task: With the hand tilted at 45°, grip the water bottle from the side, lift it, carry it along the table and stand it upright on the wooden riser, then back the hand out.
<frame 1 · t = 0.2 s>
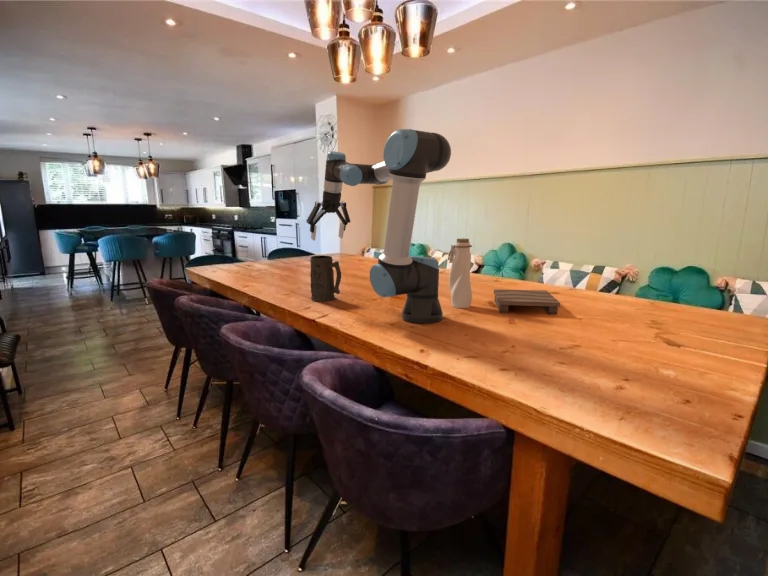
hand: (327, 238, 171), 28 cm above the table, tool tilted 20°, fingers open, 13 cm apart
wooden riser: (523, 307, 159), on the table
beer stein: (327, 299, 177), on the table
water bottle: (459, 306, 163), on the table
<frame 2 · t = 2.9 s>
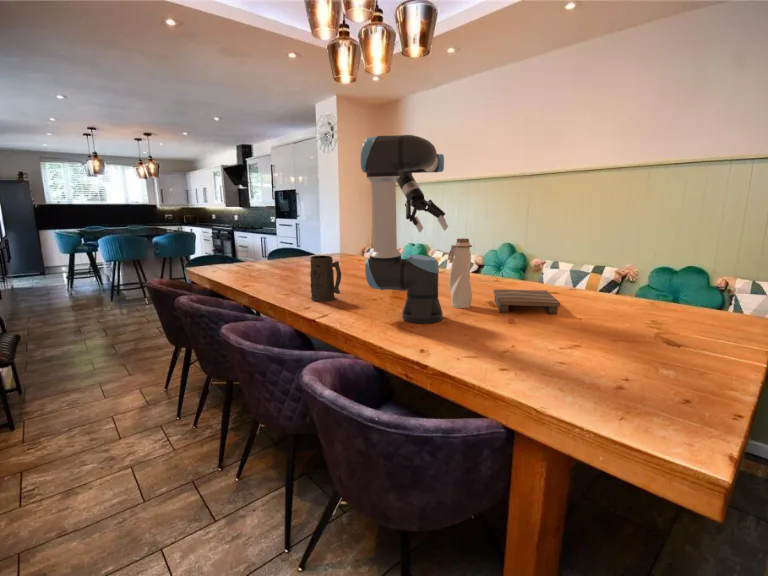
hand: (434, 229, 166), 31 cm above the table, tool tilted 45°, fingers open, 13 cm apart
nothing on the table moved.
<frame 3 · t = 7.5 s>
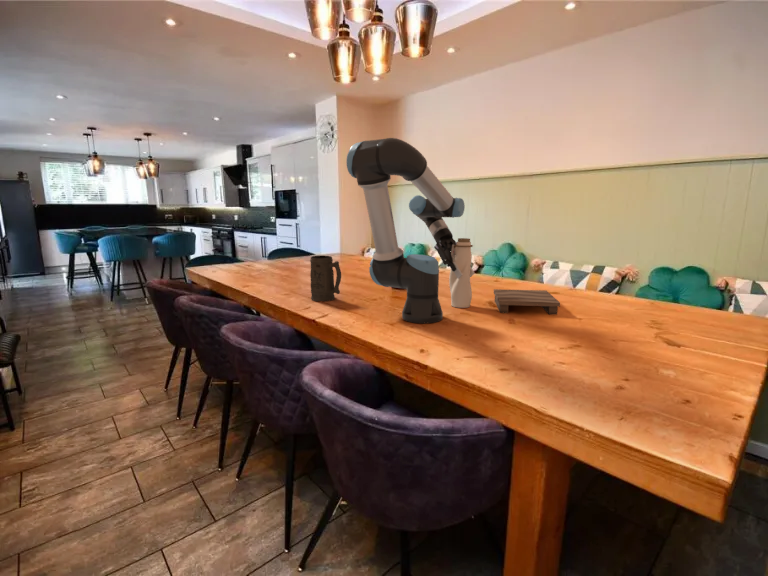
hand: (466, 275, 157), 13 cm above the table, tool tilted 45°, fingers closed on water bottle, 6 cm apart
water bottle: (458, 306, 163), on the table, touching gripper
everything else where it was.
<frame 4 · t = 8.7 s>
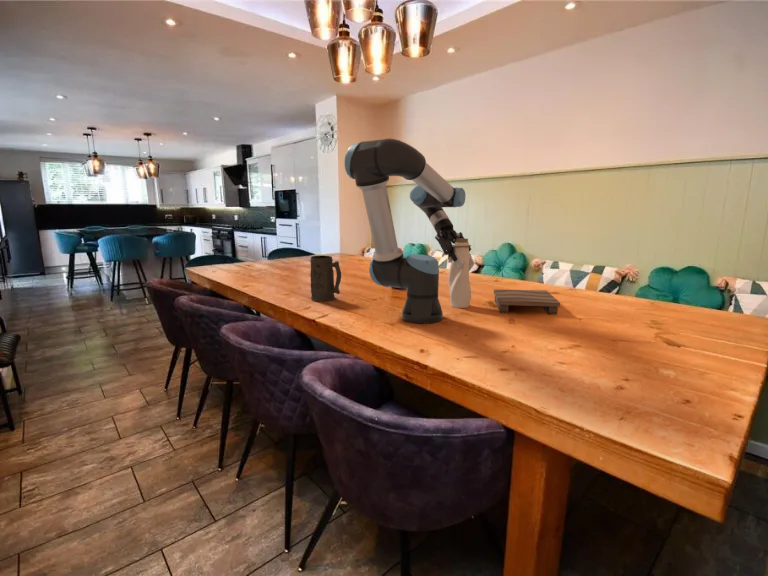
hand: (466, 265, 156), 17 cm above the table, tool tilted 45°, fingers open, 5 cm apart
water bottle: (458, 306, 163), on the table
everything else where it was.
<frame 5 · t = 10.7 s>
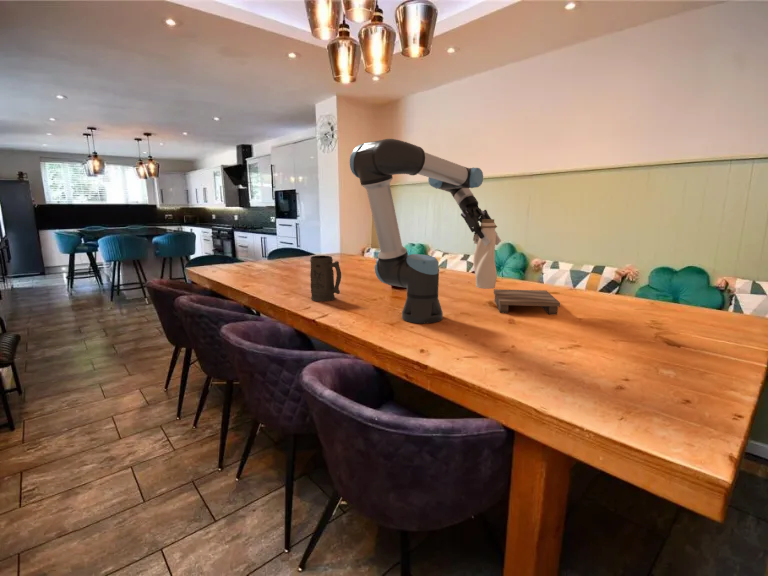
hand: (493, 243, 156), 26 cm above the table, tool tilted 45°, fingers closed on water bottle, 5 cm apart
water bottle: (483, 287, 163), point 7 cm above the table, touching gripper
everything else where it was.
when the fingers open (24 cm above the table, at t = 12.5 s): water bottle stays where it is, resting on wooden riser.
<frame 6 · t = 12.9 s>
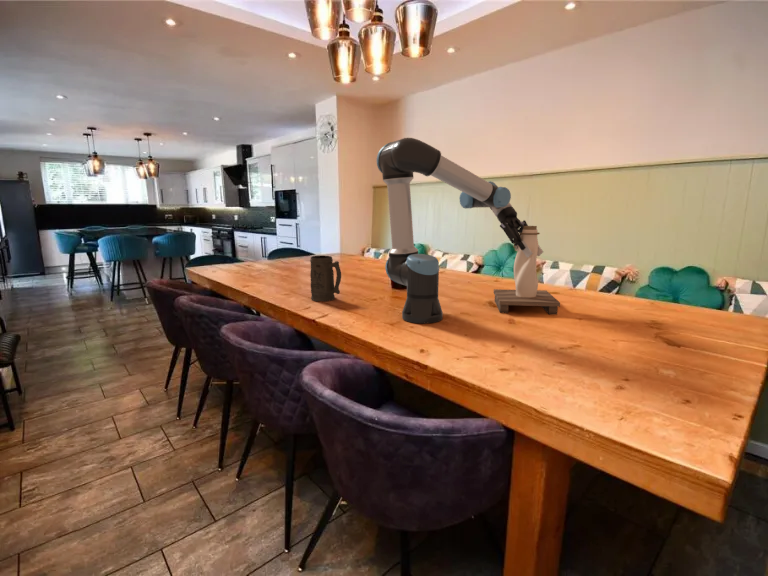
hand: (535, 254, 151), 22 cm above the table, tool tilted 45°, fingers open, 6 cm apart
water bottle: (523, 295, 158), point 5 cm above the table, touching gripper, wooden riser
everything else where it was.
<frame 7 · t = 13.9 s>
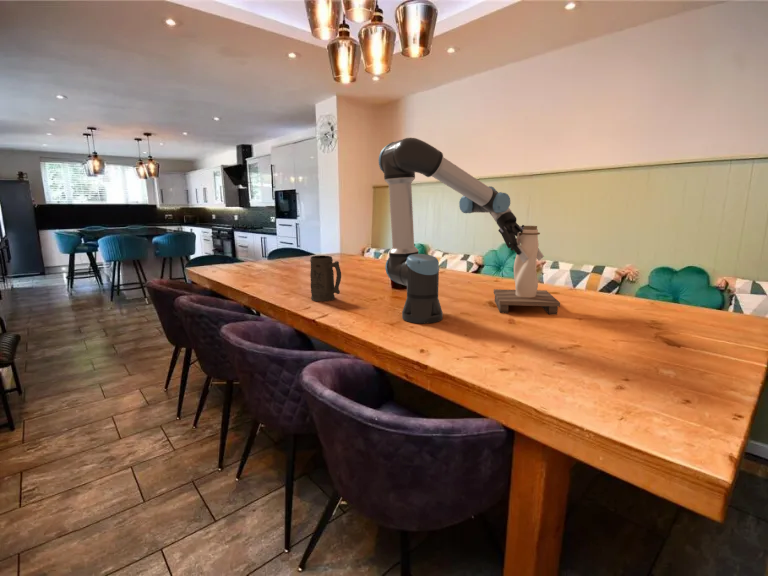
hand: (533, 259, 152), 20 cm above the table, tool tilted 45°, fingers open, 8 cm apart
water bottle: (523, 295, 158), point 5 cm above the table, touching wooden riser
everything else where it was.
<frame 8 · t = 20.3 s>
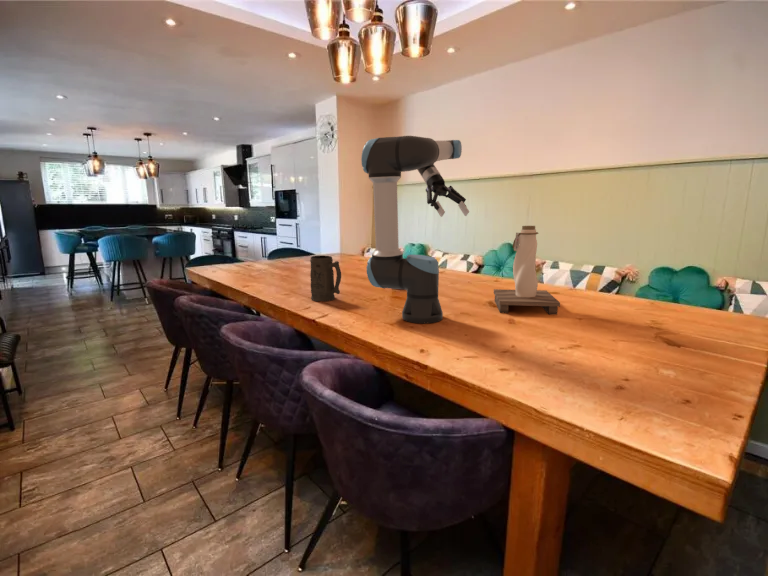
hand: (455, 214, 165), 38 cm above the table, tool tilted 45°, fingers open, 13 cm apart
nothing on the table moved.
at the end: water bottle inside the target area on the wooden riser (0.3 cm from its centre), point 4.9 cm above the wooden riser's base; water bottle tilted 1°; the gripper is holding nothing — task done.
